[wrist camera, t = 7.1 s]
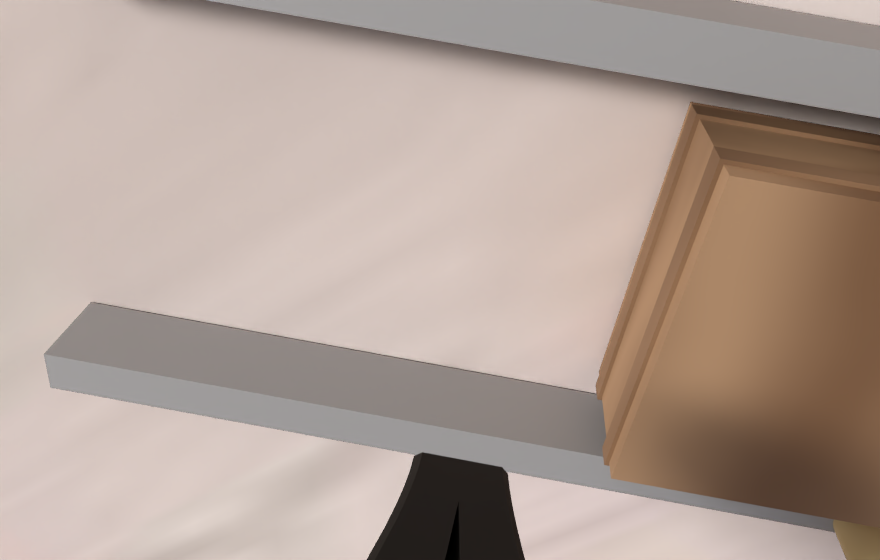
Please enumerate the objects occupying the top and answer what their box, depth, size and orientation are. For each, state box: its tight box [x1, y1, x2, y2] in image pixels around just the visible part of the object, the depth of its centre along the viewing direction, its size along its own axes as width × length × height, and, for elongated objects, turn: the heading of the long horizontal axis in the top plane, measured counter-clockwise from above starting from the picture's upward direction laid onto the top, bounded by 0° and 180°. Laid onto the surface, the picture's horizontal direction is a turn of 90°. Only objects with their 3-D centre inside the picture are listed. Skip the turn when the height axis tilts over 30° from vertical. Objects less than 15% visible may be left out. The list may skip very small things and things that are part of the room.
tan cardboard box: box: [596, 102, 880, 528], centre depth 17 cm, size 8×8×4 cm
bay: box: [44, 0, 880, 560], centre depth 17 cm, size 23×13×4 cm, turn 82°
